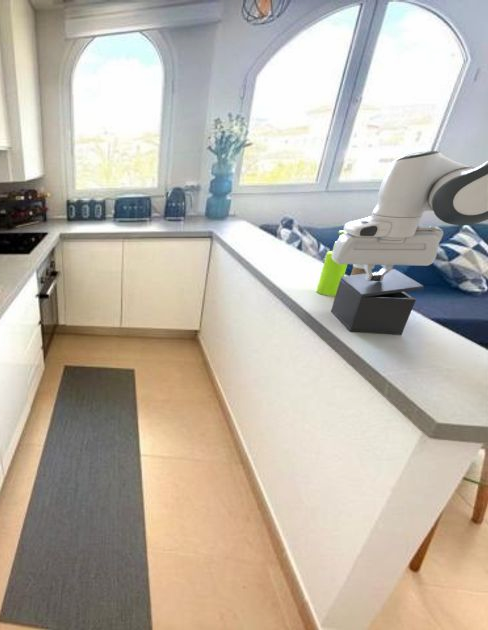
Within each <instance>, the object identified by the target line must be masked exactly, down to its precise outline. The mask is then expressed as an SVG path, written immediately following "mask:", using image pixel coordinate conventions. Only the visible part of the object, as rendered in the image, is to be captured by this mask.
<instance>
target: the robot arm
mask: <svg viewBox="0 0 488 630" xmlns="http://www.w3.org/2000/svg"><path fill="white" fill-rule="evenodd" d="M428 211H429V212H433V213H434V215H435V217H436V218H438V219H439V221H442V222H443V223H446V224H449V225H453V226H470V225H475V224H476V225H477V224H480V223H482V222H485V221H487V220H488V160H487V161H486V162H484V163H483V164H481V165H479V166H477V167H475V166H471V165H467V164H464V163H461V162H458V161H456V160H453V159H451V158H449V157H447V156H446V155H444V154H442V152H440V151H437V150H428V151H419V152H413V153H409V154H404V155H402V156H400V157H397V158H396V159H395V160H393V161H392V162H391V163H390V165H389V166H388V168H387V169H386V172H385V174H384V176H383V179H382V181H381V183H380V187H379V189H378V193H377V203H376V205H375V207H374V208H373V210H372V212H371V214H370V216H368V217H364V218H360V219H357V220H352V221H349V222H346V223H344V225H343V231H345V232H346V233H343V234H342V235H341V236H340V235H339V237H338V238H337V240H336V241H337V242H336V244H335V247H334V246H333V247H334V249H333V248H332V251H333V253H332V259H333V260H334V261H335V262H336V263H337V264H348V265H353V264H362V265H364V269H365V271H366V276H365V280H367V281H382V280H383V277H384V275H386V274H387V273H388V272H389V271H390V270H392V269H394V266H417V267H418V266H419V267H420V266H423V267H425V266H426V267H427V266H430V265H432V264H433V263H434V262H435V261H436V258H437V255H438V251H439V246H440V242H441V240H442V238H443V236H444V231H443V229H441V228H440V227H439V226H436V225H429V226H424V225H422V226H421V225H419V224H420V221H421V218H422V216H423V214H424V213H425V212H428ZM376 266H381V267H382V268H381V269H379V272H378V273H372V272H373V270H374V269H375V267H376ZM371 268H372V270H371Z"/></svg>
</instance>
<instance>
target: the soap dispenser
mask: <svg viewBox="0 0 488 630" xmlns="http://www.w3.org/2000/svg"><path fill="white" fill-rule="evenodd" d="M343 233H346V232H345V231H344V230H339V231H337V234H338V235H339V237H340V236H341V235H342V234H343ZM336 242H337V240H335V241H334V244H333V247H332V250H329V251H327V252H326V253H325V259H324V262H323V265H322V270H321V274H320V277H319V281H318V284H317V288H316V292H317V293H318V294H319V295H323V296H329V297H335V296H336V293H337V289H338V286H339V282H340V280H341V277H344V276H346V275H345V274H346V271H347V268H348V265H349V264H337V263H336V262H335V261H334V260H333V259H332V253H333V249H334V247H335V244H336Z"/></svg>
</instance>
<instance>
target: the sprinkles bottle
mask: <svg viewBox="0 0 488 630" xmlns="http://www.w3.org/2000/svg"><path fill="white" fill-rule="evenodd" d="M371 270H372V271H373V269H372V268H371ZM364 273H366V271H365V269H364V265H362V264H352V269H351V273H350V276H351V275H357V274H364Z"/></svg>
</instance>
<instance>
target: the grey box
mask: <svg viewBox="0 0 488 630" xmlns="http://www.w3.org/2000/svg"><path fill="white" fill-rule="evenodd" d="M333 299H334V300H333V302H332V307H331V309H330V311H331V313H332V314H333V315H334V317H335V318H336V319H337V320H338V321H339V322H340V323H341V324H342V325H343V326H344V327H345V328H346V329H347V331H348V332H350V333H363V334H365V333H366V334H378V335H379V334H380V335H395V334H400V336H402V335H403V333H404V330H405V328H406V325H407V323H408V320H409V318H410V315H411V313H412V310H413V308H414V306H415V303H416V301H417V299H416V298H414V296H412V295H410V294H409V293H407V292H406V291H405V292H397V293H389V294H382V295H374V296H368V297H361V296H360V295H359V294H357V293H356V292H355V291H354V290H353V289H351V288H350V287H349V286H348V285H347V284H345V283H344V282H343V281H342V280H340V282H339V286H338V289H337V293H336V296H334V298H333Z"/></svg>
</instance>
